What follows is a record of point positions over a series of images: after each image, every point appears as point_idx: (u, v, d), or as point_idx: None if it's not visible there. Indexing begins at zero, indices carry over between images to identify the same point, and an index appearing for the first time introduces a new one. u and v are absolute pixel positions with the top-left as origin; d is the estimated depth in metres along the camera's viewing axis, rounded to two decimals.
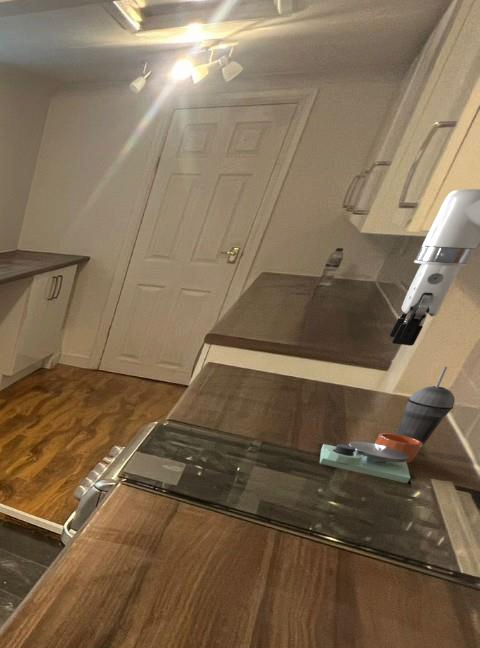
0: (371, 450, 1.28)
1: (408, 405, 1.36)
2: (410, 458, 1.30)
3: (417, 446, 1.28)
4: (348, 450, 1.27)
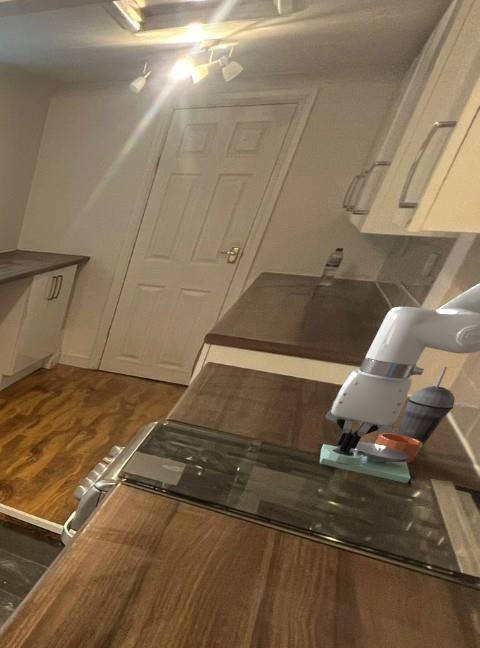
0: (371, 450, 1.28)
1: (408, 405, 1.36)
2: (410, 458, 1.30)
3: (417, 446, 1.28)
4: (347, 453, 1.27)
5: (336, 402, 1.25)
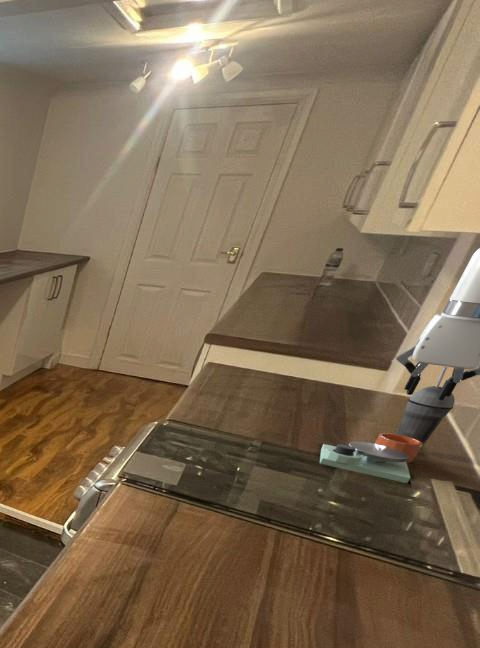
0: (371, 450, 1.28)
1: (408, 405, 1.36)
2: (410, 458, 1.30)
3: (417, 446, 1.28)
4: (348, 450, 1.27)
5: (417, 347, 1.24)
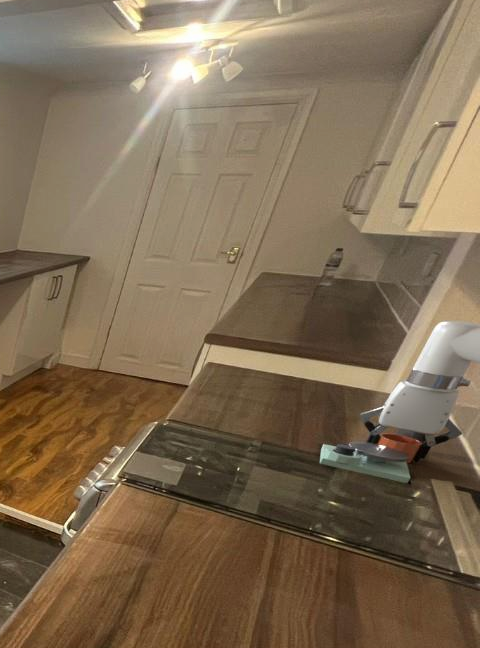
0: (371, 450, 1.28)
1: None
2: (410, 458, 1.30)
3: (417, 446, 1.28)
4: (348, 450, 1.27)
5: (383, 412, 1.31)
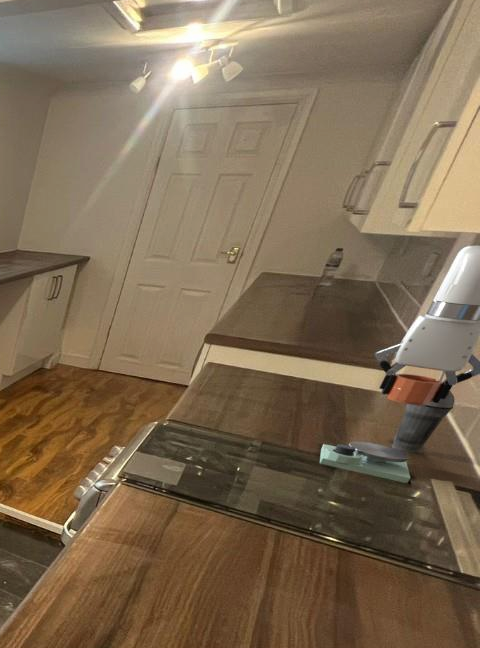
0: (371, 450, 1.28)
1: (408, 405, 1.36)
2: (429, 398, 1.20)
3: (437, 385, 1.19)
4: (348, 450, 1.27)
5: (401, 349, 1.21)
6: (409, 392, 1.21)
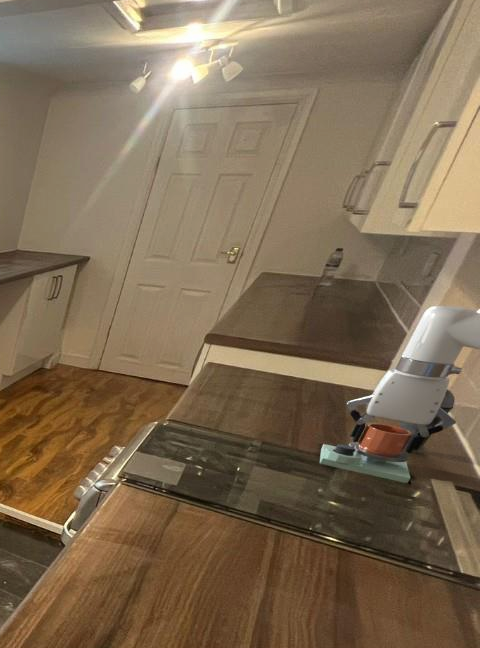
0: None
1: None
2: (399, 449, 1.24)
3: (406, 436, 1.23)
4: (348, 450, 1.27)
5: (371, 402, 1.25)
6: (380, 442, 1.25)
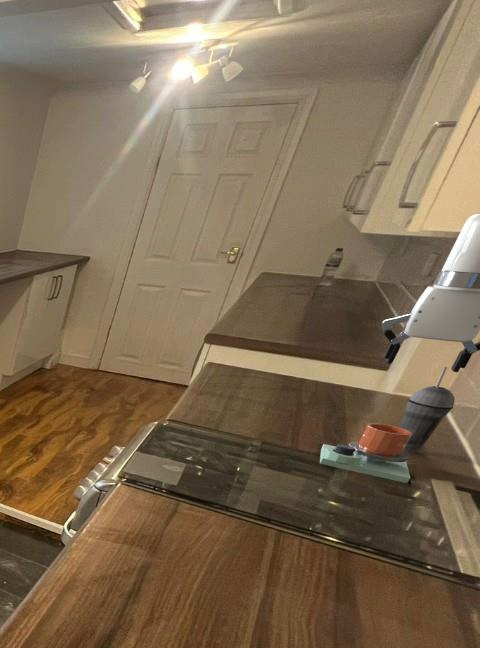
0: None
1: (408, 405, 1.36)
2: (399, 449, 1.24)
3: (406, 436, 1.23)
4: (348, 450, 1.27)
5: (410, 321, 1.19)
6: (380, 442, 1.25)
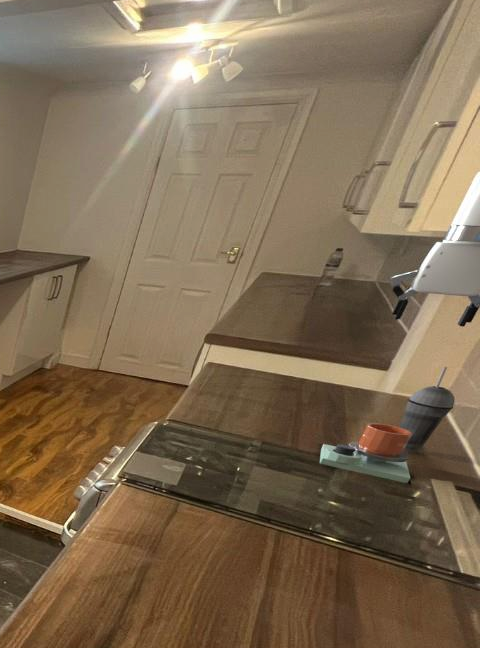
0: None
1: (408, 405, 1.36)
2: (399, 449, 1.24)
3: (406, 436, 1.23)
4: (348, 450, 1.27)
5: (418, 276, 1.22)
6: (380, 442, 1.25)
